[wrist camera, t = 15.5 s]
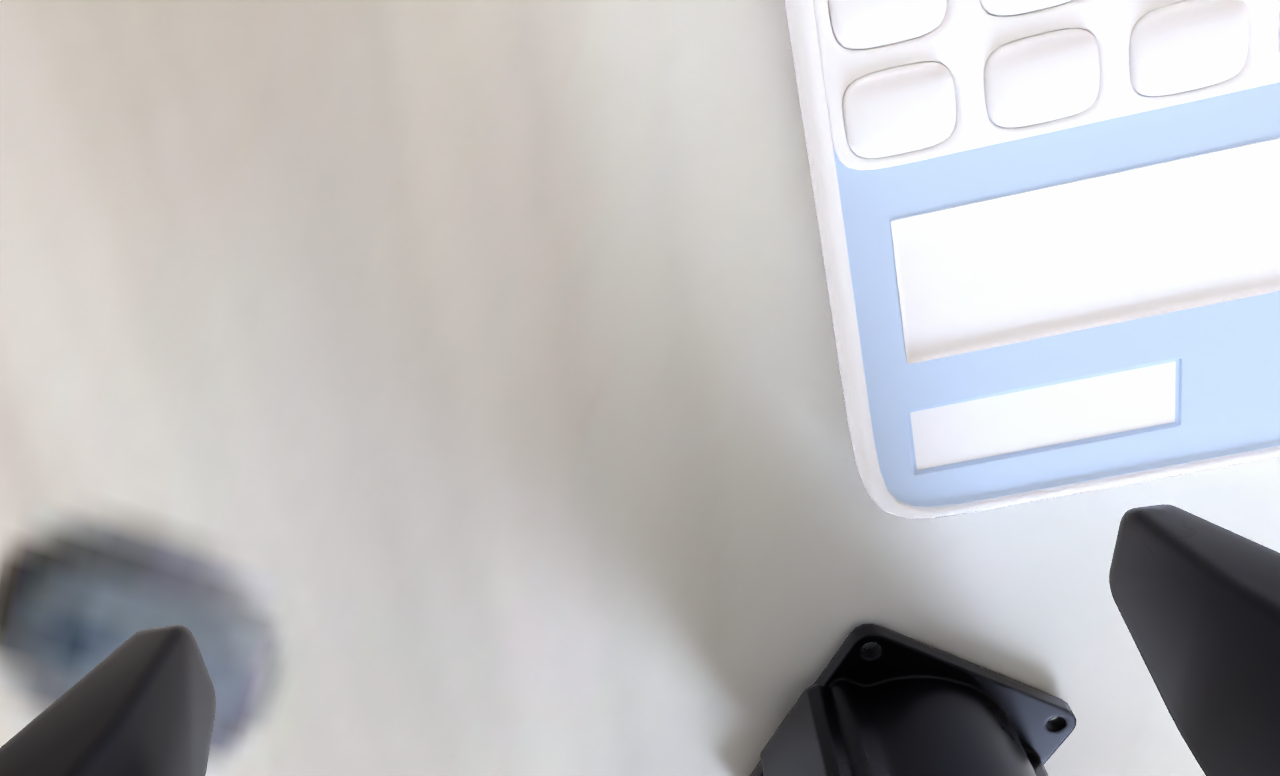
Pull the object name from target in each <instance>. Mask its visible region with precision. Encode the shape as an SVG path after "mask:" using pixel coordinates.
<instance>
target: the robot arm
mask: <svg viewBox="0 0 1280 776" xmlns="http://www.w3.org/2000/svg"><path fill="white" fill-rule="evenodd" d="M1109 583H1110V589H1111V592H1112V596H1113V598H1114V601H1115V603H1116V605H1117V607H1118V609H1119V611H1120V613H1121V615H1122V617H1123V619H1124V621H1125V623H1126V625H1127V627H1128V629H1129V631H1130V633H1131V635H1132V637H1133V639H1134V642H1135V644H1136V646H1137V648H1138V650H1139V652H1140V654H1141V656H1142V658H1143V660H1144V662H1145V664H1146V666H1147V668H1148V670H1149V672H1150V674H1151V676H1152V678H1153V680H1154V682H1155V684H1156V686H1157V688H1158V690H1159V692H1160V695H1161V697H1162V699H1163V701H1164V703H1165V705H1166V707H1167V709H1168V711H1169V713H1170V715H1171V717H1172V718H1173V720H1174V722H1175V724H1176V726H1177V728H1178V730H1179V732H1180V733H1181V735H1182V737H1183V739H1184V740H1185V742H1186V744H1187V745H1188V747H1189V749H1190V750H1191V752H1192V754H1193V755H1194V757H1195V759H1196V760H1197V762H1198V763H1199V765H1200V767H1201V768H1202V770H1203V771H1204V773H1205V775H1206V776H1280V553H1278V552H1276V551H1273V550H1271V549H1269V548H1267V547H1264V546H1262V545H1260V544H1258V543H1256V542H1253V541H1251V540H1249V539H1247V538H1244V537H1242V536H1240V535H1238V534H1235V533H1233V532H1231V531H1229V530H1226V529H1224V528H1222V527H1220V526H1217V525H1215V524H1213V523H1211V522H1208V521H1206V520H1204V519H1202V518H1200V517H1197V516H1195V515H1193V514H1191V513H1188V512H1186V511H1184V510H1182V509H1179V508H1177V507H1175V506H1172V505H1156V506H1148V507H1139V508H1133V509H1131V510H1129V511H1127V512H1126V513H1125V514H1124V516H1123V517H1122V519H1121V522H1120V527H1119V531H1118V536H1117V540H1116V545H1115V550H1114V554H1113V559H1112V563H1111V568H1110V575H1109ZM870 642H875V643H877V644H875V645H874V646H873V647H870V648H862V646H864V645H865V644H866V643H870ZM215 713H216V696H215V690H214V687H213V684H212V681H211V678H210V676H209V673H208V671H207V668H206V666H205V663H204V660H203V658H202V655H201V653H200V650H199V648H198V645H197V642H196V640H195V637H194V636H193V634H192V632H191V631H190V630H189V629H188V628H187V627H185V626H182V625H174V626H165V627H157V628H149V629H144V630H141V631H139V632H137V633H136V634H134V635H133V636H131V637H130V638H129V639H128V640H127V641H126V642H124V643H123V644H122V645H121V646H120V647H119V648H117V649H116V650H115V651H114V652H113V653H111V654H110V655H109V656H108V657H107V658H106V659H104V660H103V661H102V662H101V663H100V664H99V665H97V666H96V667H95V668H94V669H93V670H91V671H90V672H89V673H88V674H87V675H86V676H84V677H83V678H82V679H81V680H80V681H79V682H77V683H76V684H75V685H74V686H73V687H72V688H70V689H69V690H68V691H67V692H66V693H64V694H63V695H62V696H61V697H60V698H59V699H57V700H56V701H55V702H54V703H53V704H52V705H50V706H49V707H48V708H47V709H46V710H44V711H43V712H42V713H41V714H40V715H39V716H37V717H36V718H35V719H34V720H33V721H32V722H30V723H29V724H28V725H27V726H26V727H24V728H23V729H22V730H21V731H20V732H19V733H17V734H16V735H15V736H14V737H13V738H12V739H10V740H9V741H8V742H7V743H6V744H5V745H3V746H2V747H1V748H0V776H205V774H206V768H207V762H208V756H209V750H210V744H211V738H212V732H213V726H214V720H215ZM1054 717H1058V718H1056V719H1055V720H1051V721H1049V720H1050V719H1052V718H1054ZM1075 726H1076V718H1075V716H1074V714H1073V713H1072V711H1071V709H1070V707H1069V706H1068V704H1067V703H1066V702H1065V701H1063V700H1061V699H1059V698H1057V697H1054V696H1052V695H1049V694H1047V693H1044V692H1042V691H1039V690H1037V689H1034V688H1032V687H1029V686H1027V685H1024V684H1022V683H1020V682H1017V681H1015V680H1012V679H1010V678H1007V677H1005V676H1002V675H1000V674H997V673H995V672H992V671H990V670H987V669H985V668H982V667H980V666H978V665H975V664H973V663H970V662H968V661H965V660H963V659H960V658H958V657H955V656H953V655H950V654H948V653H945V652H943V651H941V650H938V649H936V648H933V647H931V646H928V645H926V644H923V643H921V642H918V641H916V640H913V639H911V638H908V637H906V636H904V635H901V634H899V633H896V632H894V631H891V630H889V629H886V628H884V627H881V626H879V625H875V624H863V625H861V626H859V627H856V628H855V629H854V630H853V631H852V632H851V633H850V634H849V636H848V637H847V638H846V640H845V641H844V643H843V644H842V645H841V647H840V648H839V650H838V651H837V653H836V654H835V655H834V657H833V658H832V660H831V661H830V663H829V664H828V665H827V667H826V668H825V670H824V671H823V673H822V674H821V675H820V677H819V678H818V680H817V681H816V683H815V684H813V685H812V686H810V687H809V688H807V689H806V690H805V691H804V692H803V693H802V695H801V696H800V698H799V699H798V701H797V702H796V703H795V705H794V706H793V708H792V709H791V711H790V712H789V713H788V715H787V716H786V718H785V719H784V721H783V722H782V724H781V725H780V726H779V728H778V729H777V731H776V732H775V734H774V735H773V736H772V738H771V739H770V741H769V742H768V744H767V745H766V746H765V748H764V749H763V751H762V752H761V761H760V762H759V764H758V765H757V767H756V768H755V770H754V771H753V772H752V774H751V775H750V776H1048V774H1047V772H1046V770H1045V768H1044V766H1043V765H1044V764H1045V762H1046V761H1047V760H1048V759H1049V758H1050V757H1051V755H1052V754H1053V753H1054V752H1055V751H1056V750H1057V748H1058V747H1059V746H1060V745H1061V744H1062V743H1063V742H1064V740H1065V739H1066V738H1067V737H1068V736H1069V735H1070V733H1071V732H1072V731H1073V729H1074V728H1075Z"/></svg>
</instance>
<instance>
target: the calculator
mask: <svg viewBox="0 0 1280 776" xmlns="http://www.w3.org/2000/svg"><path fill="white" fill-rule="evenodd" d="M785 7H786V14H787V20H788V27H789V34H790V40H791V47H792V54H793V60H794V67H795V74H796V80H797V87H798V93H799V100H800V107H801V113H802V120H803V127H804V133H805V140H806V147H807V153H808V160H809V167H810V173H811V180H812V187H813V193H814V200H815V207H816V213H817V220H818V226H819V233H820V240H821V246H822V253H823V260H824V266H825V273H826V280H827V286H828V293H829V300H830V306H831V313H832V320H833V326H834V333H835V339H836V346H837V353H838V359H839V366H840V373H841V379H842V386H843V392H844V399H845V405H846V412H847V418H848V424H849V430H850V436H851V440H852V445H853V450H854V455H855V459H856V464H857V469H858V471H859V474H860V476H861V479H862V481H863V484H864V486H865V489H866V491H867V493H868V495H869V497H870V498H871V499H872V500H873V501H874V502H875V503H876V504H877V505H878V506H879V507H880V508H881V509H882V510H883V511H884V512H886V513H889V514H892V515H895V516H898V517H901V518H905V519H929V518H937V517H945V516H953V515H960V514H965V513H971V512H977V511H982V510H988V509H994V508H999V507H1005V506H1010V505H1016V504H1021V503H1027V502H1032V501H1038V500H1043V499H1049V498H1054V497H1060V496H1065V495H1071V494H1076V493H1082V492H1087V491H1093V490H1098V489H1104V488H1109V487H1115V486H1120V485H1126V484H1131V483H1137V482H1142V481H1148V480H1153V479H1159V478H1164V477H1170V476H1175V475H1181V474H1186V473H1192V472H1197V471H1203V470H1208V469H1214V468H1219V467H1225V466H1230V465H1236V464H1241V463H1247V462H1252V461H1258V460H1263V459H1269V458H1274V457H1280V0H785Z"/></svg>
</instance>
